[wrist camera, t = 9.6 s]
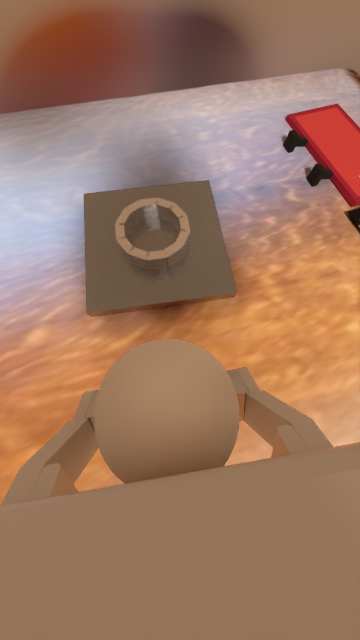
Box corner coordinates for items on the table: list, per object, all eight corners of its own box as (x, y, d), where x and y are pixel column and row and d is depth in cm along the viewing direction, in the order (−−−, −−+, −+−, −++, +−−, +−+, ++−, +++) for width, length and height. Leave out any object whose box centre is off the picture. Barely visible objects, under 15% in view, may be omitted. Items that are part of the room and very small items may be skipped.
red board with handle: (356, 251, 32) (433, 226, 34) (373, 239, 30) (455, 212, 31) (266, 127, 41) (332, 112, 43) (273, 109, 38) (342, 94, 40)
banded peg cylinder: (139, 442, 14) (94, 513, 6) (133, 365, 15) (90, 347, 8) (214, 430, 14) (257, 483, 7) (201, 355, 16) (224, 328, 8)
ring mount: (91, 316, 29) (77, 306, 25) (87, 201, 34) (76, 179, 31) (233, 296, 30) (242, 284, 26) (207, 188, 35) (211, 164, 32)
